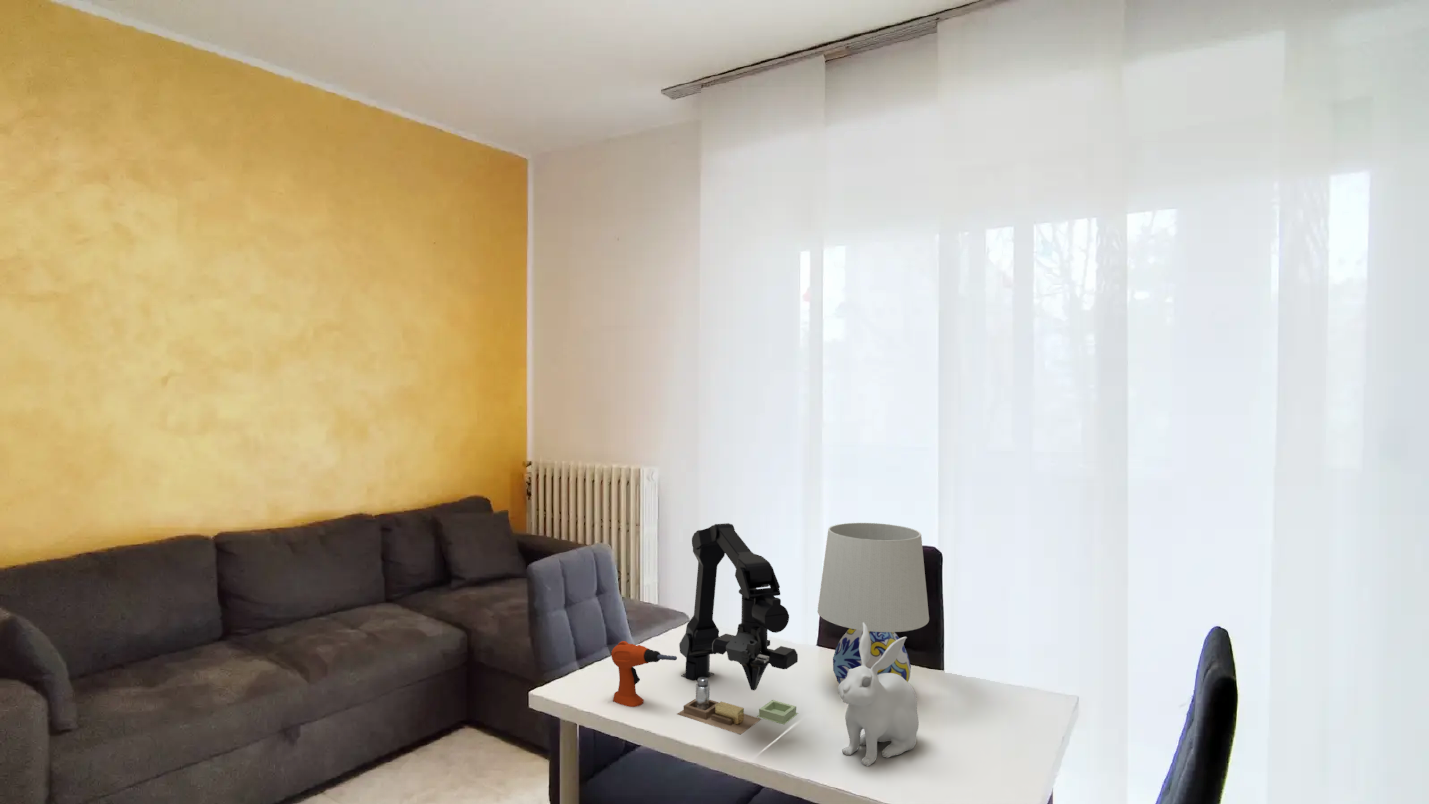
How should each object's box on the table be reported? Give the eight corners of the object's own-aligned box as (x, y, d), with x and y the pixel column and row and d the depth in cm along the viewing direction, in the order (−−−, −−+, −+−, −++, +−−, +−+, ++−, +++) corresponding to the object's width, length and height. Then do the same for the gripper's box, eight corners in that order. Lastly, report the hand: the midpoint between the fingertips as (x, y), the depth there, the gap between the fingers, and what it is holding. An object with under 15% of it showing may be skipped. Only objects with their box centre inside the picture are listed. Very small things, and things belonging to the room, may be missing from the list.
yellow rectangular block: (720, 713, 166) (721, 701, 166) (743, 720, 163) (743, 708, 163) (715, 717, 164) (715, 705, 164) (737, 724, 161) (738, 712, 161)
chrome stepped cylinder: (700, 707, 170) (701, 675, 170) (711, 710, 168) (712, 678, 168) (692, 712, 167) (693, 679, 167) (704, 715, 166) (704, 682, 165)
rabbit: (821, 753, 150) (823, 633, 150) (885, 726, 163) (888, 615, 163) (864, 777, 141) (866, 649, 141) (929, 747, 154) (932, 629, 154)
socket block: (699, 702, 174) (699, 693, 174) (761, 721, 164) (761, 711, 164) (676, 716, 166) (676, 707, 166) (740, 737, 157) (740, 727, 157)
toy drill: (675, 716, 163) (669, 648, 164) (609, 707, 172) (603, 643, 173) (687, 708, 167) (681, 642, 168) (621, 700, 177) (616, 637, 177)
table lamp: (888, 665, 199) (891, 519, 199) (950, 707, 174) (954, 539, 173) (798, 676, 191) (800, 523, 190) (848, 721, 165) (852, 545, 164)
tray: (771, 708, 171) (771, 698, 171) (798, 715, 168) (798, 706, 168) (756, 719, 166) (756, 709, 166) (784, 727, 162) (784, 717, 162)
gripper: (698, 620, 158) (697, 692, 158) (774, 636, 148) (773, 713, 148) (726, 608, 168) (725, 675, 168) (799, 622, 157) (798, 695, 157)
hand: (753, 689), depth 160 cm, fingers closed
